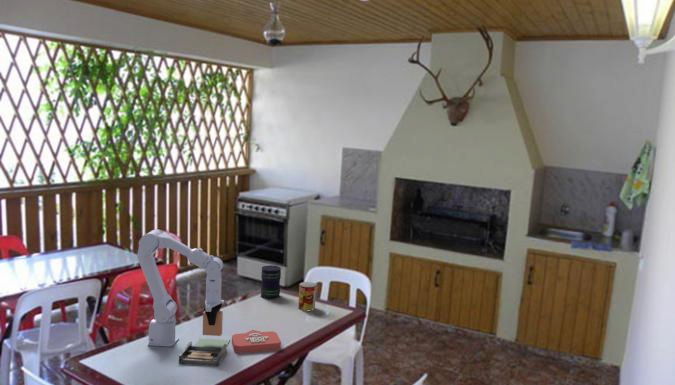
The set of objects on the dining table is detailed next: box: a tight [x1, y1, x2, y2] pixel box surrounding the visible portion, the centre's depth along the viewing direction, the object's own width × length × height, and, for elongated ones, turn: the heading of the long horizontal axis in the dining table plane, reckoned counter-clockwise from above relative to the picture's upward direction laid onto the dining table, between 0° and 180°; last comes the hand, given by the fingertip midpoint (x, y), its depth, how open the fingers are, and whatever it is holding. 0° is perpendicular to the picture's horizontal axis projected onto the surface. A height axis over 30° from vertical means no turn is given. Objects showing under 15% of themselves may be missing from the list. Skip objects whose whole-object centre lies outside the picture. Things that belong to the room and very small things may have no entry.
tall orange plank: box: [202, 310, 224, 337], centre depth 194 cm, size 7×2×9 cm, turn 89°
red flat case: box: [231, 329, 282, 354], centre depth 198 cm, size 18×4×15 cm
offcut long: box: [186, 355, 215, 360], centre depth 180 cm, size 9×2×2 cm, turn 87°
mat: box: [194, 337, 231, 348], centre depth 195 cm, size 12×8×1 cm, turn 89°
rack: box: [178, 341, 227, 367], centre depth 183 cm, size 14×12×3 cm
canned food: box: [298, 281, 317, 312], centre depth 241 cm, size 8×8×12 cm
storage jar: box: [260, 265, 282, 300], centre depth 256 cm, size 10×10×15 cm
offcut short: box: [191, 352, 211, 356], centre depth 182 cm, size 7×2×2 cm, turn 90°
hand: (212, 323), depth 194 cm, fingers closed on tall orange plank, 2 cm apart
